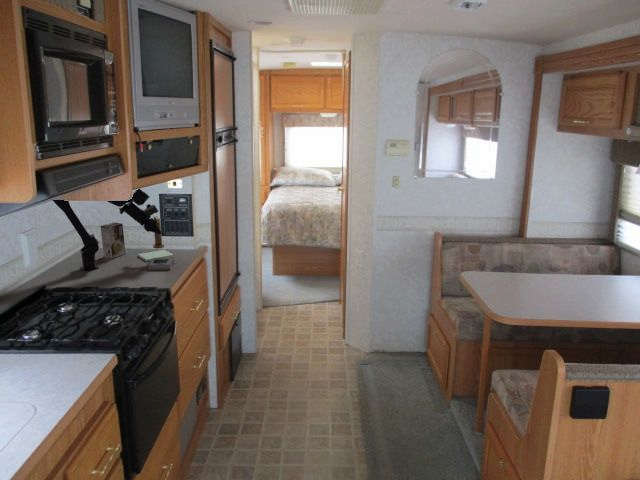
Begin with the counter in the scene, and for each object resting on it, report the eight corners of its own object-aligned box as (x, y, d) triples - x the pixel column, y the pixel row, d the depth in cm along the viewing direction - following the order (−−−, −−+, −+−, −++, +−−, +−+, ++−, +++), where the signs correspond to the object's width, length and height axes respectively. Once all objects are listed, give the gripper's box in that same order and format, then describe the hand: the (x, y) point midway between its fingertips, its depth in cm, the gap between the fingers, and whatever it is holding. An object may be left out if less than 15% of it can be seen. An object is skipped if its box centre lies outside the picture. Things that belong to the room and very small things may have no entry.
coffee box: (116, 252, 279) (113, 222, 275) (126, 253, 276) (123, 223, 272) (103, 256, 271) (99, 225, 267) (112, 258, 268) (109, 226, 264)
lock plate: (148, 270, 249) (147, 265, 248) (153, 262, 260) (153, 257, 260) (170, 269, 250) (170, 264, 249) (174, 262, 261) (174, 257, 261)
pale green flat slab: (146, 261, 262) (146, 259, 262) (137, 256, 271) (137, 254, 271) (173, 256, 271) (173, 254, 270) (164, 251, 280) (164, 249, 279)
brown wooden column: (155, 249, 260) (152, 219, 256) (151, 245, 267) (149, 216, 263) (165, 248, 262) (163, 218, 259) (162, 244, 269) (160, 215, 266)
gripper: (150, 203, 249) (176, 224, 257) (143, 197, 265) (167, 217, 273) (134, 221, 247) (160, 241, 255) (128, 214, 263) (152, 233, 271)
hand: (160, 232), depth 264 cm, fingers closed on brown wooden column, 3 cm apart
